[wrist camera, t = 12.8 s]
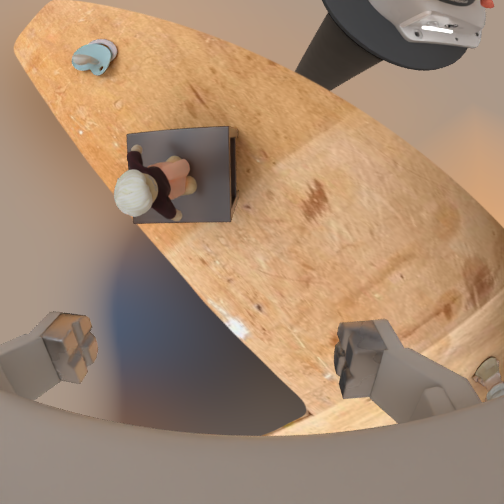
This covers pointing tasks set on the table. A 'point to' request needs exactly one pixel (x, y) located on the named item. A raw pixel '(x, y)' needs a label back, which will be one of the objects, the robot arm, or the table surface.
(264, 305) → the table surface
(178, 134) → the rack
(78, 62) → the pacifier
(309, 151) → the table surface
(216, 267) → the table surface
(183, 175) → the grandmother figurine
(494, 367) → the figurine
